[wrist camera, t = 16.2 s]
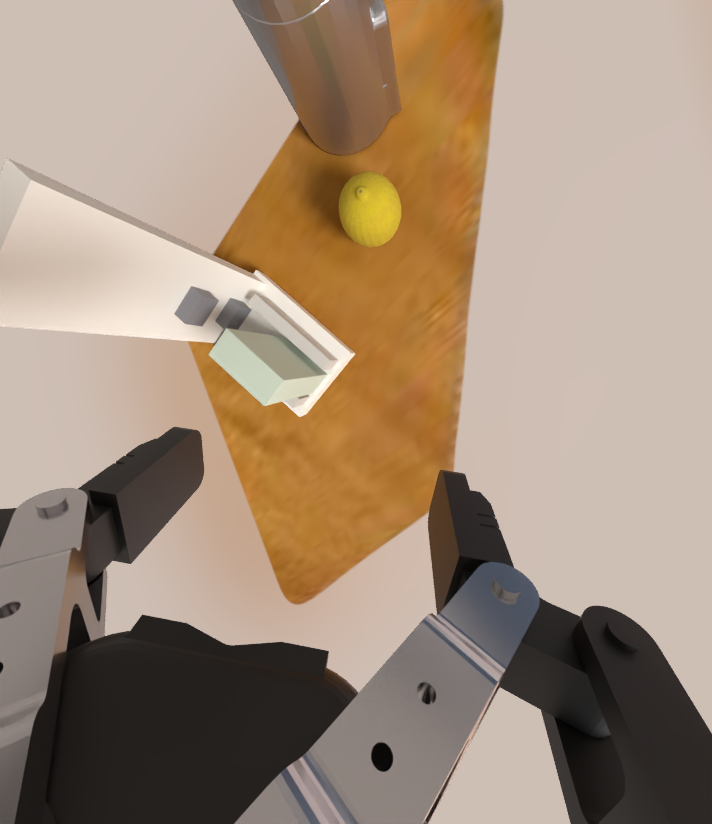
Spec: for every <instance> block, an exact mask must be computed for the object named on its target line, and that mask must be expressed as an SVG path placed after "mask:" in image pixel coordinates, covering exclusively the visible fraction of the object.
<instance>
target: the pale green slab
mask: <svg viewBox="0 0 712 824" xmlns="http://www.w3.org/2000/svg"><path fill="white" fill-rule="evenodd" d="M213 346H214V347H213V349H212V350H211V352H210V353H209V356H210V357H211V358H213V359H214V360H215V361H216V362H217V363H218V364H219V365H220V366H221V367H222V368H223V369H225V370H226V371H227V372H228V373H229V374H230V375H231V376H232V377H233V378H234V379H235V380H236V381H238V382H239V383H240V384H241V385H242V386H243V387H244V388H245V389H246V390H247V391H248V392H250V393H251V394H252V395H253V396H254V397H255V398H256V399H257V400H258V401H259V402H260V403H261V404H263V405H264V406H266V405H270V404H274V403H278V402H282V401H285V400H289V399H293V398H297V397H300V396H304V395H308V394H312V393H314V392H315V390H316V389H317V388H318V387H319V385H320V384H321V383H322V382H323V380H324V379H325V378H326V377H327V376H328V374H327V373H326V372H325V371H324V370H322V369H321V368H320V367H319V366H318V365H317V364H316V363H314V362H313V361H312V360H311V359H310V358H309V357H308V356H307V355H306V354H304V353H303V352H302V351H301V350H300V349H299V348H298V347H297V346H295V345H294V344H293V343H292V342H291V341H290V340H289V339H288V338H286V337H281V336H276V335H269V334H263V333H256V332H250V331H243V330H237V329H230V328H224V330H223V331H222V332H221V334H220V335H219V337H218V338H217V340H216V341H215V343H214V344H213Z"/></svg>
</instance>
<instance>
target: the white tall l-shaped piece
mask: <svg viewBox="0 0 712 824" xmlns="http://www.w3.org/2000/svg"><path fill="white" fill-rule="evenodd" d="M0 326H4V327H17V328H30V329H43V330H55V331H69V332H81V333H94V334H106V335H119V336H132V337H145V338H158V339H170V340H183V341H196V342H209V343H215V341H216V340H217V338H218V337H219V335H220V334H221V332H222V331H223V330H224V328H230V329H237V330H243V331H250V332H256V333H263V334H269V335H276V336H281V337H286V338H288V339H289V340H290V341H291V342H292V343H293V344H294V345H295V346H297V347H298V348H299V349H300V350H301V351H302V352H303V353H304V354H306V355H307V356H308V357H309V358H310V359H311V360H312V361H313V362H314V363H316V364H317V365H318V366H319V367H320V368H321V369H322V370H324V371H325V372H326V373H327V374H328V376H327V377H326V378H325V379H324V380H323V382H322V383H321V384H320V385H319V387H318V388H317V389H316V390H315V392H314V393H312V394H308V395H304V396H300V397H297V398H293V399H289V400H285V401H282V402H283V403H285V404H286V405H287V406H288V407H289V408H290V409H291V410H292V411H293V412H294V413H296V414H297V415H298V416H299V417H301V416H303V415H306V414H307V413H308V411H309V410H310V409H311V408H312V406H313V405H314V404H315V403H316V402H317V400H318V399H319V398H320V397H321V395H322V394H323V393H324V392H325V390H326V389H327V388H328V387H329V386H330V384H331V383H332V382H333V381H334V379H335V378H336V377H337V376H338V374H339V373H340V372H341V371H342V370H343V368H344V367H345V366H346V365H347V363H348V362H349V361H350V360H351V358H352V357H353V356H354V355H355V354H356V353H354V352H353V351H352V350H351V349H350V348H349V347H348V346H346V345H345V344H344V343H343V342H342V341H341V340H340V339H338V338H337V337H336V336H335V335H334V334H333V333H332V332H330V331H329V330H328V329H327V328H326V327H325V326H324V325H323V324H321V323H320V322H319V321H318V320H317V319H316V318H315V317H313V316H312V315H311V314H310V313H309V312H308V311H307V310H305V309H304V308H303V307H302V306H301V305H300V304H299V303H297V302H296V301H295V300H294V299H293V298H292V297H291V296H290V295H288V294H287V293H286V292H285V291H284V290H283V289H282V288H280V287H279V286H278V285H277V284H276V283H275V282H274V281H272V280H271V279H270V278H269V277H268V276H267V275H266V274H264V273H262V272H260V271H258V270H256V271H255V272H254V274H252V273H250V272H248V271H246V270H244V269H242V268H240V267H237V266H235V265H233V264H231V263H229V262H227V261H225V260H223V259H220V258H218V257H216V256H214V255H212V254H210V253H207V252H206V251H203V250H201V249H199V248H197V247H195V246H193V245H191V244H188V243H186V242H184V241H182V240H180V239H178V238H176V237H174V236H172V235H169V234H167V233H165V232H163V231H161V230H159V229H157V228H155V227H152V226H150V225H148V224H146V223H144V222H142V221H140V220H138V219H135V218H133V217H131V216H129V215H127V214H125V213H123V212H121V211H119V210H116V209H114V208H112V207H110V206H108V205H105V204H104V203H101V202H99V201H97V200H95V199H93V198H91V197H89V196H87V195H85V194H82V193H80V192H78V191H76V190H74V189H72V188H69V187H68V186H65V185H63V184H61V183H59V182H57V181H55V180H53V179H51V178H48V177H46V176H44V175H42V174H40V173H38V172H36V171H34V170H31V169H29V168H27V167H25V166H23V165H21V164H19V163H16V162H15V161H12V160H10V159H8V158H6V161H5V163H4V166H3V168H2V171H1V173H0Z"/></svg>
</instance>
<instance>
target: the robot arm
mask: <svg viewBox="0 0 712 824" xmlns="http://www.w3.org/2000/svg"><path fill="white" fill-rule="evenodd" d="M233 2H234V4H235V6H236V7H237V9H238V11H239V13H240V14H241V16H242V18H243V20H244V22H245V23H246V25H247V27H248V28H249V30H250V32H251V34H252V36H253V38H254V39H255V41H256V43H257V45H258V46H259V48H260V50H261V52H262V53H263V55H264V57H265V59H266V61H267V62H268V64H269V66H270V67H271V69H272V71H273V73H274V75H275V76H276V78H277V80H278V82H279V84H280V85H281V87H282V89H283V91H284V92H285V94H286V96H287V98H288V99H289V101H290V103H291V105H292V106H293V108H294V110H295V112H296V113H297V115H298V117H299V120H300V121H301V123H302V125H303V127H304V128H305V130H306V131H307V133H308V135H309V136H310V138H311V139H312V140H313V142H314V143H315V144H316V145H317V146H318V147H320V148H321V149H322V150H324V151H326V152H328V153H330V154H335V155H350V154H353V153H356V152H359V151H361V150H363V149H364V148H366V147H368V146H369V145H370V144H371V143H372V142H374V141H375V140H376V139H377V137H378V136H379V135H380V134H381V132H382V131H383V129H384V128H385V126H386V124H387V122H388V120H389V119H390V117H392V116H393V115H394V114H396V113H398V112H399V111H400V110H401V106H400V99H399V91H398V84H397V77H396V70H395V63H394V56H393V49H392V42H391V35H390V28H389V21H388V15H387V11H386V7H385V4H384V1H383V0H233ZM203 475H204V463H203V451H202V440H201V434H200V432H199V431H197V430H192V429H186V428H179V427H173V428H172V429H170V430H169V431H167V432H166V433H165V434H163V435H162V436H161V437H159V438H158V439H154V440H151V441H149V442H146V443H144V444H141V445H139V446H137V447H136V448H135V449H133V450H132V451H130V452H129V453H128V454H127V455H126V456H123V457H122V458H120V459H119V460H118V461H116V464H112V465H111V466H109V467H108V468H106V469H105V470H104V471H102V472H101V473H99V474H98V475H97V476H95V477H94V478H92V479H91V480H89V481H88V482H87V483H85V484H84V485H82V486H81V487H80V488H78V489H74V488H62V489H56V490H51V491H48V492H44V493H41V494H39V495H36V496H34V497H32V498H30V499H28V500H27V501H25V502H24V503H23V504H21V505H20V506H19V507H18V508H13V509H0V824H429V822H430V820H431V818H432V816H433V814H434V813H435V810H436V809H437V807H438V805H439V803H440V801H441V799H442V797H443V795H444V793H445V792H446V790H447V788H448V786H449V783H450V782H451V780H452V778H453V776H454V774H455V772H456V770H457V768H458V766H459V764H460V762H461V760H462V758H463V756H464V754H465V752H466V750H467V748H468V747H469V745H470V743H471V741H472V739H473V737H474V735H475V733H476V731H477V729H478V728H479V726H480V724H481V722H482V720H483V718H484V716H485V714H486V712H487V710H488V709H489V707H490V705H491V702H492V701H493V699H494V697H495V695H496V693H497V691H498V689H499V688H500V687H501V688H503V689H504V690H506V691H508V692H510V693H512V694H514V695H515V696H517V697H519V698H521V699H523V700H524V701H526V702H528V703H530V704H532V705H534V706H535V707H537V708H539V709H541V712H542V716H543V719H544V723H545V727H546V730H547V735H548V738H549V742H550V746H551V750H552V754H553V757H554V761H555V765H556V769H557V773H558V776H559V780H560V784H561V788H562V792H563V796H564V799H565V803H566V807H567V811H568V815H569V819H570V822H571V824H712V734H711V732H710V730H709V729H708V727H707V725H706V724H705V722H704V720H703V719H702V717H701V716H700V714H699V712H698V711H697V709H696V707H695V706H694V704H693V702H692V701H691V699H690V697H689V696H688V695H687V693H686V691H685V689H684V688H683V686H682V684H681V683H680V681H679V679H678V678H677V676H676V675H675V673H674V671H673V670H672V668H671V666H670V665H669V663H668V661H667V660H666V658H665V657H664V655H663V653H662V652H661V650H660V649H659V647H658V645H657V644H656V642H655V641H654V640H653V638H652V637H651V636H650V635H649V634H648V633H647V632H646V631H645V630H644V629H643V628H642V627H641V626H640V625H639V624H637V623H636V622H635V621H633V620H632V619H631V618H629V617H627V616H626V615H624V614H622V613H620V612H618V611H616V610H614V609H611V608H608V607H604V606H591V607H588V608H587V609H586V610H585V611H584V612H583V614H582V616H581V617H580V616H578V615H575V614H573V613H571V612H568V611H566V610H564V609H561V608H559V607H557V606H555V605H552V604H550V603H548V602H546V601H545V600H543V599H541V598H540V597H539V594H538V591H537V590H536V588H535V586H534V585H533V583H532V582H531V581H530V580H529V579H528V578H527V577H526V576H525V575H524V574H523V573H521V572H520V571H518V570H517V569H515V568H514V566H513V563H512V561H511V558H510V555H509V552H508V550H507V547H506V544H505V541H504V539H503V536H502V533H501V531H500V530H499V525H498V523H497V520H496V519H495V515H494V512H493V509H492V506H491V504H490V503H489V502H488V501H487V499H486V498H485V497H484V496H483V495H482V494H481V493H480V492H476V491H470V489H469V486H468V483H467V479H466V476H465V474H463V473H457V472H451V471H445V470H440V472H439V475H438V478H437V482H436V486H435V490H434V494H433V498H432V502H431V506H430V510H429V517H428V531H429V540H430V550H431V559H432V569H433V579H434V588H435V599H436V608H437V616H434V615H433V614H429V615H428V616H426V617H425V618H424V619H423V620H422V621H421V623H420V624H419V625H418V626H417V627H416V628H415V629H414V631H413V632H412V633H411V634H410V635H409V636H408V637H407V639H406V640H405V641H404V642H403V643H402V644H401V645H400V647H399V648H398V649H397V650H396V651H395V652H394V653H393V655H392V656H391V657H390V658H389V659H388V660H387V661H386V663H385V664H384V665H383V666H382V667H381V668H380V670H379V671H378V672H377V673H376V674H375V675H374V676H373V677H372V679H371V680H370V681H369V682H368V683H367V684H366V686H365V687H364V688H363V689H362V690H361V691H360V692H359V693H358V692H357V691H356V689H355V688H354V687H353V686H352V685H350V684H349V683H348V682H347V681H346V680H345V679H343V678H342V677H341V676H339V675H338V674H337V673H335V672H333V671H331V670H330V669H328V668H327V659H328V652H329V651H325V650H320V649H315V648H310V647H305V646H300V645H295V644H289V643H284V642H275V643H263V644H262V643H261V644H249V645H235V646H230V645H226V644H223V643H222V642H220V641H218V640H216V639H214V638H212V637H210V636H209V635H207V634H205V633H203V632H202V631H200V630H198V629H196V628H194V627H192V626H191V625H189V624H187V623H182V622H177V621H171V620H167V619H162V618H156V617H151V616H146V615H142V616H141V617H140V619H139V620H138V621H137V623H136V624H135V626H134V627H133V628H132V630H131V631H126V632H121V633H116V634H111V635H108V636H105V612H106V594H107V571H106V567H107V566H108V565H109V564H110V563H111V561H118V562H123V563H128V564H131V563H132V562H133V561H134V560H135V559H136V558H137V556H138V555H139V554H140V553H141V552H142V551H143V550H144V548H145V547H146V546H147V545H148V544H149V543H150V542H151V541H152V539H153V538H154V537H155V536H156V535H157V534H158V533H159V532H160V530H161V529H162V528H163V527H164V526H165V525H166V523H168V521H169V520H170V519H171V518H172V517H173V516H174V515H175V514H176V512H177V511H178V510H179V509H180V508H181V507H182V506H183V505H184V503H185V502H186V501H187V500H188V499H189V498H190V497H191V495H192V494H193V493H194V492H195V491H196V490H197V489H198V487H199V486H200V484H201V482H202V479H203Z"/></svg>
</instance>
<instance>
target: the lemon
mask: <svg viewBox="0 0 712 824" xmlns="http://www.w3.org/2000/svg"><path fill="white" fill-rule="evenodd" d="M339 217H340V220H341V223H342V226H343V229H344V230H345V232H346V233H347V235H348V236H349V237H350V238H351V239H352V240H353V241H354V242H356V243H358V244H360V245H362V246H365V247H377V246H380V245H383V244H384V243H386V242H387V241H389V240H390V239H391V238H392V237H393V235H394V234H395V232H396V230H397V229H398V226H399V223H400V220H401V204H400V198H399V196H398V194H397V191H396V189H395V187H394V186H393V185H392V184H391V182H390V181H389V180H388V179H387V178H385V177H384V176H382V175H381V174H378V173H375V172H362V173H359V174H357V175H355V176H353V177H352V178H351V179H350V180H349V181H348V182H347V183H346V185H345V186H344V188H343V190H342V192H341V195H340V199H339Z"/></svg>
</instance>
